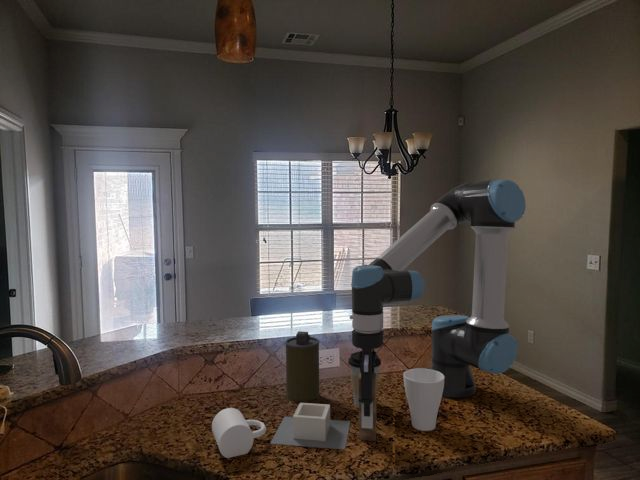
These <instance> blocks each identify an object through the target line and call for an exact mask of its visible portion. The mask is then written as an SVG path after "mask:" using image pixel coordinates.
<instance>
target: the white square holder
mask: <svg viewBox="0 0 640 480" xmlns="http://www.w3.org/2000/svg"><path fill="white" fill-rule="evenodd" d="M292 415H293V416H292V417H293V439H305V440H318V441H326V438H327V434H328V431H329V428H330V420H331V404H326V403H325V404H324V403H323V404H322V403H311V402H310V403H309V402H300V403H299V404H298V405H297V408H296V409H295V411H294V414H292Z"/></svg>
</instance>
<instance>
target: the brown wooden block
mask: <svg viewBox="0 0 640 480" xmlns="http://www.w3.org/2000/svg"><path fill="white" fill-rule="evenodd" d="M359 399H361V373H360V375H359ZM372 399H373V429H370V428H362V414H361V402H359V408H358V440H361V441H371V442H373V441H374V442H376V441H377V393H376V373H373V374H372Z"/></svg>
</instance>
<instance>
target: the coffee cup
mask: <svg viewBox="0 0 640 480" xmlns="http://www.w3.org/2000/svg"><path fill="white" fill-rule="evenodd" d="M359 354H360V351H355V352H353V353H351V354H350V357H349V358H348V362H347V363H348V365H349V366H350V379H351V380H350V381H351V388H352V390H351V391H352V394H353V403H354V406H355V407H356V408H358V409H359V375H360V361H359ZM381 365H382V362H381V358H380V357H379V355H378V353H376V360H375V368H374V373H376V394H377V392H378V387H379V377H380V372H379V371H380V370H379V369H380V366H381Z"/></svg>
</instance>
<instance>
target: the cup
mask: <svg viewBox="0 0 640 480" xmlns="http://www.w3.org/2000/svg"><path fill="white" fill-rule="evenodd" d="M402 376H403V386H404V390H405V396H406V400H407V403H408V407H409V413H410V420H411V426H412V427H413V428H414V429H416V430H418V431H421V432H430V431H434V430H435V429H436V425H437V416H438V412H439V408H440V404H441V403H442V402H441V401H442V398H443V396H442V393H443V389H444V379H445V377H444V375H443V374H442V373H440V372H438V371H435V370H432V369H430V368H425V367H424V368H423V367H417V368H416V367H415V368H409V369H407V370H405V371H404V372H403V373H402Z"/></svg>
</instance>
